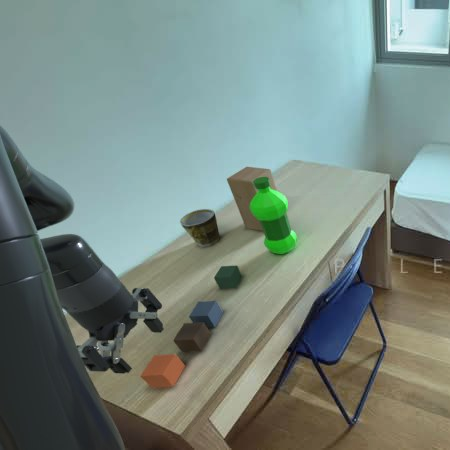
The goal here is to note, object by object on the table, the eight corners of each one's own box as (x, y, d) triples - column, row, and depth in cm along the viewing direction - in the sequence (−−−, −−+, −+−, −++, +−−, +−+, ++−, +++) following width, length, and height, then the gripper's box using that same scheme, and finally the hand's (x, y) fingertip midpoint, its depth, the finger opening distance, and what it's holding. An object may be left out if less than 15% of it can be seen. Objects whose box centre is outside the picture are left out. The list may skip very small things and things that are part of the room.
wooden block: (245, 228, 111) (225, 178, 99) (263, 214, 119) (246, 165, 107) (269, 232, 108) (251, 181, 97) (285, 217, 116) (270, 168, 105)
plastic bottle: (276, 238, 105) (253, 171, 91) (305, 240, 104) (286, 173, 89) (260, 257, 97) (233, 187, 83) (291, 260, 96) (269, 189, 81)
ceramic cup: (197, 235, 109) (185, 211, 103) (227, 230, 111) (217, 206, 105) (186, 258, 98) (172, 233, 92) (220, 252, 100) (208, 227, 94)
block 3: (202, 351, 71) (193, 339, 68) (182, 352, 71) (172, 340, 68) (211, 334, 74) (203, 322, 72) (192, 335, 74) (184, 323, 72)
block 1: (173, 386, 64) (162, 375, 61) (151, 387, 64) (139, 376, 61) (185, 365, 68) (175, 353, 65) (164, 367, 68) (154, 355, 65)
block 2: (215, 327, 76) (207, 315, 73) (196, 328, 76) (188, 316, 73) (223, 312, 80) (216, 300, 77) (205, 313, 80) (198, 301, 77)
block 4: (236, 288, 87) (230, 276, 84) (220, 289, 87) (213, 277, 84) (242, 277, 90) (237, 265, 88) (227, 277, 90) (221, 266, 88)
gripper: (73, 330, 45) (133, 387, 54) (145, 263, 56) (184, 320, 66) (26, 329, 45) (94, 385, 55) (107, 263, 57) (151, 319, 66)
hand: (143, 349), depth 60 cm, fingers open, 8 cm apart
